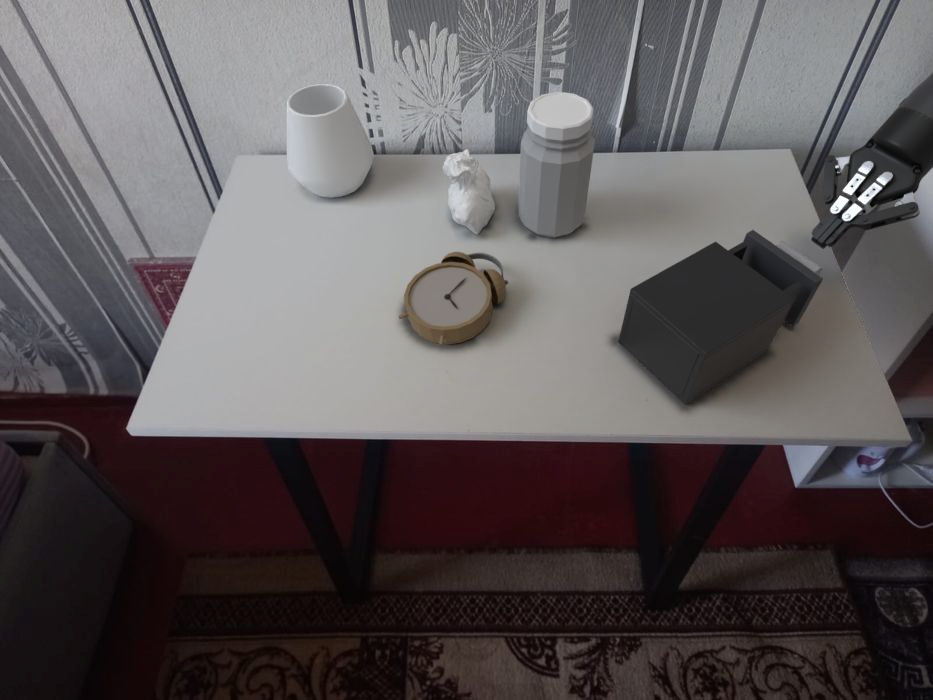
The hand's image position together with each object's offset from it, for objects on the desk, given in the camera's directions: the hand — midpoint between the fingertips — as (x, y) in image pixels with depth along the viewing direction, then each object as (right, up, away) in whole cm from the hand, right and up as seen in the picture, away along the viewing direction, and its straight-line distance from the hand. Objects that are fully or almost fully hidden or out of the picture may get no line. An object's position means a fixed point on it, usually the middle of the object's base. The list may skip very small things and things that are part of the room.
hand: (816, 244), depth 82 cm
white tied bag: (-43, +7, +16) cm, 47 cm away
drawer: (-9, -8, +1) cm, 12 cm away
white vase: (-65, +14, +23) cm, 70 cm away
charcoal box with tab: (-16, -13, -1) cm, 21 cm away
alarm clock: (-45, -7, +5) cm, 46 cm away
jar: (-32, +6, +15) cm, 35 cm away
